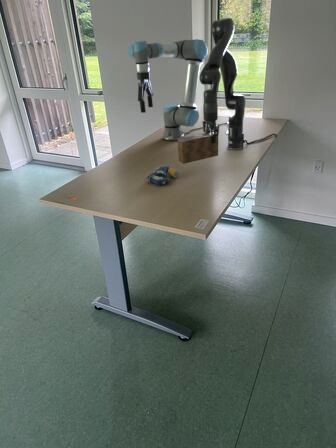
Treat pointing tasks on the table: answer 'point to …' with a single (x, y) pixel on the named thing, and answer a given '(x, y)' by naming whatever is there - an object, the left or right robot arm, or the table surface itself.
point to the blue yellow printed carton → (162, 175)
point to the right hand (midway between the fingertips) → (210, 141)
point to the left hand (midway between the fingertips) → (147, 109)
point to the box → (197, 148)
